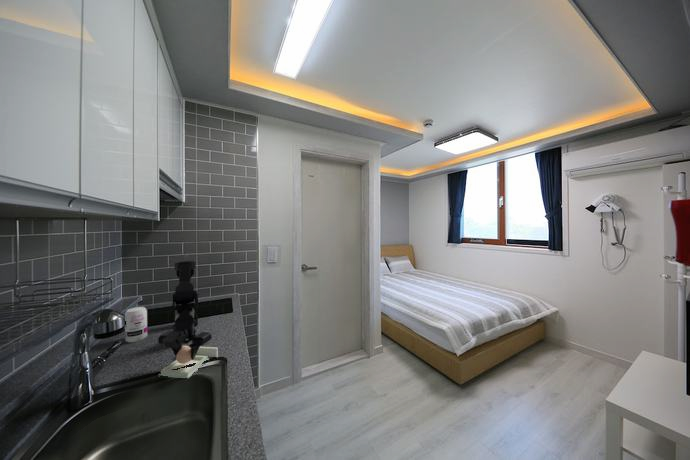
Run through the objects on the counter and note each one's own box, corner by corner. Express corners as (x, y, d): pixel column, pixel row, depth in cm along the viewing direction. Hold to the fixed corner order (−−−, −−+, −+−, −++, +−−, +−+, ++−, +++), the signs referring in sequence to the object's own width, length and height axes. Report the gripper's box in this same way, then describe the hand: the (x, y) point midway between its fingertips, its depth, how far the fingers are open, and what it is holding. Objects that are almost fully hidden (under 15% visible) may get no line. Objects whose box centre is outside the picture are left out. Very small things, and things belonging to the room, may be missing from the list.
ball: (172, 366, 90) (172, 351, 90) (184, 357, 96) (184, 343, 96) (186, 367, 89) (186, 352, 89) (198, 358, 95) (197, 344, 95)
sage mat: (158, 376, 87) (158, 371, 87) (183, 358, 99) (183, 353, 99) (188, 378, 86) (188, 373, 86) (209, 359, 98) (209, 355, 98)
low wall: (182, 355, 101) (181, 346, 101) (183, 354, 102) (183, 345, 102) (216, 357, 99) (216, 348, 99) (217, 356, 100) (217, 347, 100)
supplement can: (138, 334, 120) (138, 305, 120) (151, 335, 118) (151, 306, 118) (120, 342, 112) (120, 311, 112) (134, 343, 110) (133, 312, 110)
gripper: (144, 328, 85) (145, 369, 85) (191, 330, 83) (192, 373, 84) (169, 316, 96) (170, 353, 96) (212, 318, 94) (212, 355, 95)
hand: (185, 358), depth 93 cm, fingers closed on ball, 6 cm apart
